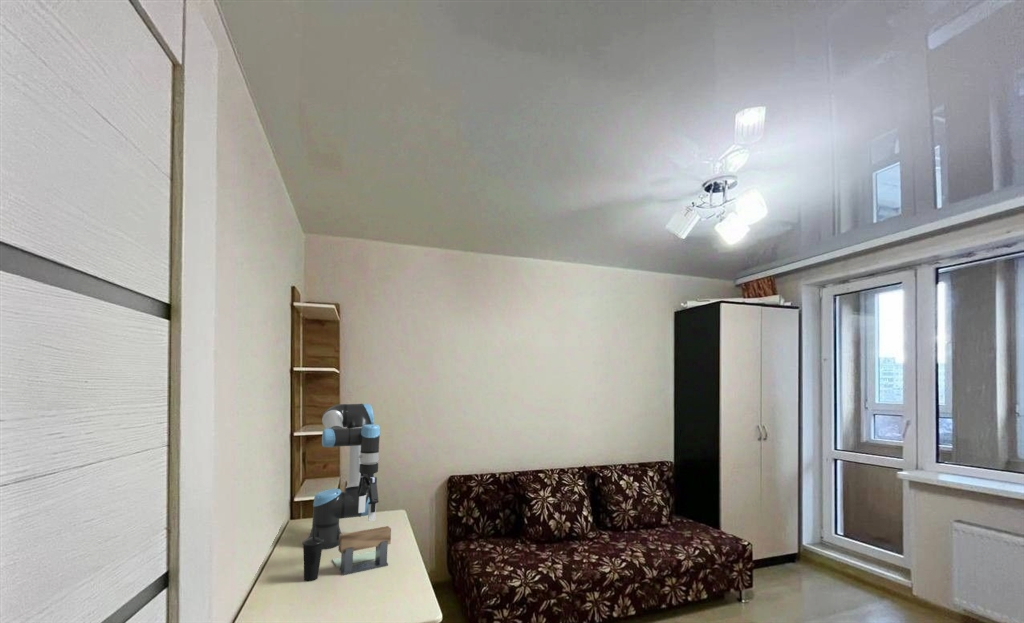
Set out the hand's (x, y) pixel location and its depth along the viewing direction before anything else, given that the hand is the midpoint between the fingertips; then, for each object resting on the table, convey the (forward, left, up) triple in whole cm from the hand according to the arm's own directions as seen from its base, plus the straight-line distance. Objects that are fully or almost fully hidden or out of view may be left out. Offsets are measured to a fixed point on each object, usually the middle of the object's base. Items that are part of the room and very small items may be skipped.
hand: (366, 516), depth 195 cm
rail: (0, 0, -12) cm, 12 cm away
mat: (-10, 0, -20) cm, 22 cm away
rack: (0, 0, -20) cm, 20 cm away
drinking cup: (-1, -20, -20) cm, 28 cm away
